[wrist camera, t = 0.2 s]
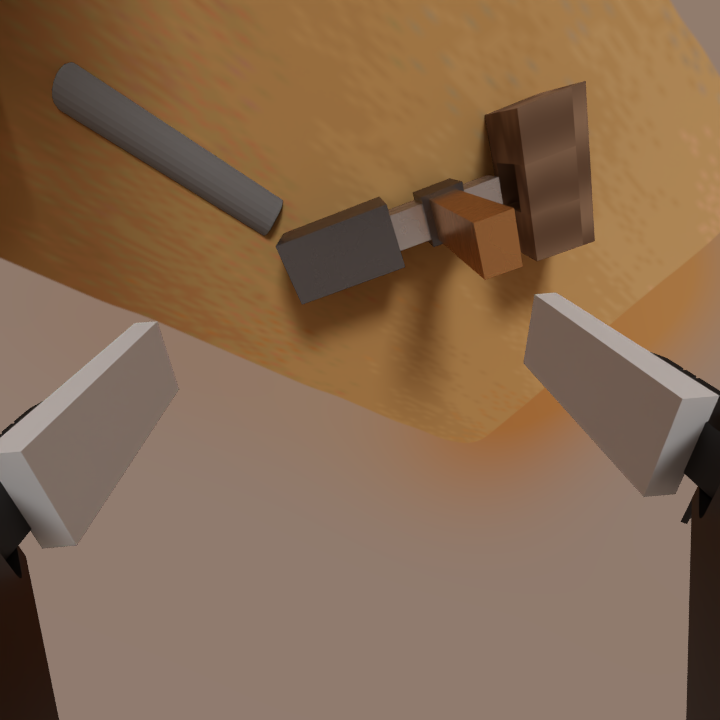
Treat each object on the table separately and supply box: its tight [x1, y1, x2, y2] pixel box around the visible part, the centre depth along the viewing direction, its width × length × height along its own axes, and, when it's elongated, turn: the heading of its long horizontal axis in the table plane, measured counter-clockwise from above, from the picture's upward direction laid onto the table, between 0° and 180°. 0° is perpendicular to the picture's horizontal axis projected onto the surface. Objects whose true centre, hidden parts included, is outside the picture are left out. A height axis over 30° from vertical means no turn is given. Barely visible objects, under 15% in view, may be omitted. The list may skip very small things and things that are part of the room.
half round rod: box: [52, 62, 283, 236], centre depth 35 cm, size 4×20×2 cm, turn 57°
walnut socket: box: [485, 81, 595, 261], centre depth 34 cm, size 12×5×7 cm, turn 20°
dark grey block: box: [276, 197, 405, 304], centre depth 37 cm, size 6×10×6 cm, turn 109°
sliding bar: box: [388, 175, 523, 280], centre depth 31 cm, size 4×20×16 cm, turn 109°
